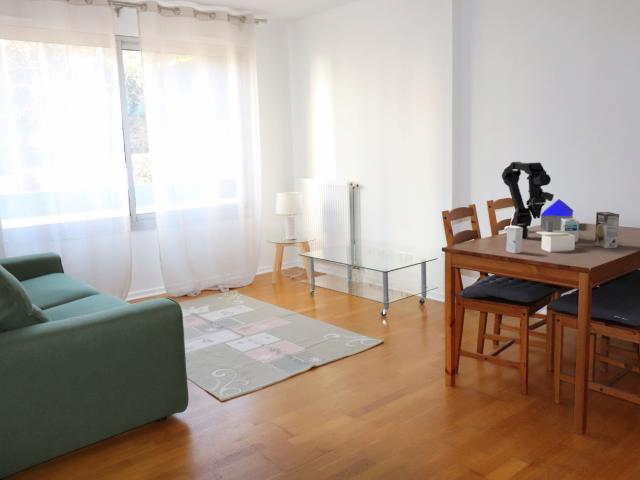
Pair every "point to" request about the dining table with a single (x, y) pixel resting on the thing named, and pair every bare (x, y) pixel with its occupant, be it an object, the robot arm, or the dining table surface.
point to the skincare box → (514, 239)
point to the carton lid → (551, 230)
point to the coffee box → (606, 229)
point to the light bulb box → (570, 227)
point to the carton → (558, 243)
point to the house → (556, 214)
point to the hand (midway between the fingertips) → (536, 218)
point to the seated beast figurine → (511, 220)
